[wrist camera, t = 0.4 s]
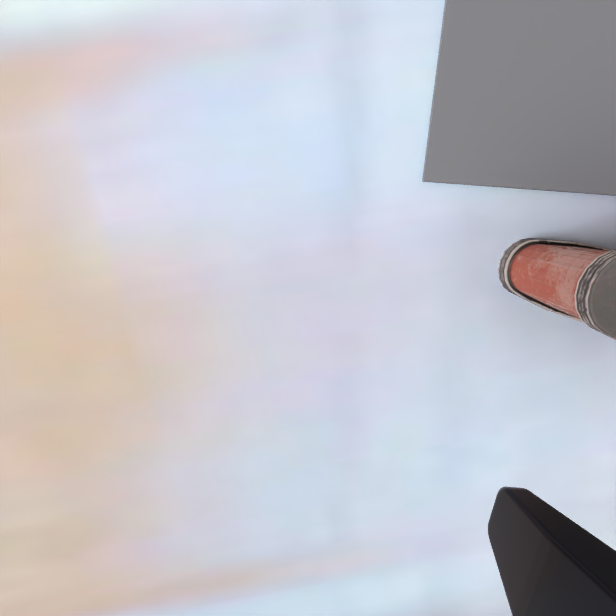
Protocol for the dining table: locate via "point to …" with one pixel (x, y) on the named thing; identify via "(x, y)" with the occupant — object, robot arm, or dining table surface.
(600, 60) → the mat
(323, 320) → the dining table surface
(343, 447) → the dining table surface
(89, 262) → the dining table surface
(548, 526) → the robot arm
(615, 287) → the lighter
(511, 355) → the dining table surface
